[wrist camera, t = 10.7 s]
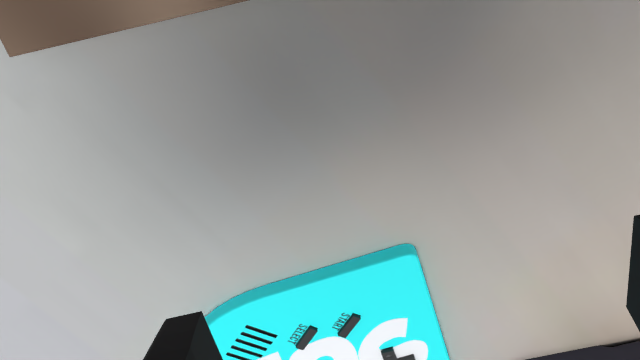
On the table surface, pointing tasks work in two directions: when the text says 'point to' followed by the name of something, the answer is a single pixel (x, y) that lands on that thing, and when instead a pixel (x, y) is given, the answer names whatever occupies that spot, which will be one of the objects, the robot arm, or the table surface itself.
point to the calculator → (598, 353)
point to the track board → (84, 19)
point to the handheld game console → (336, 314)
